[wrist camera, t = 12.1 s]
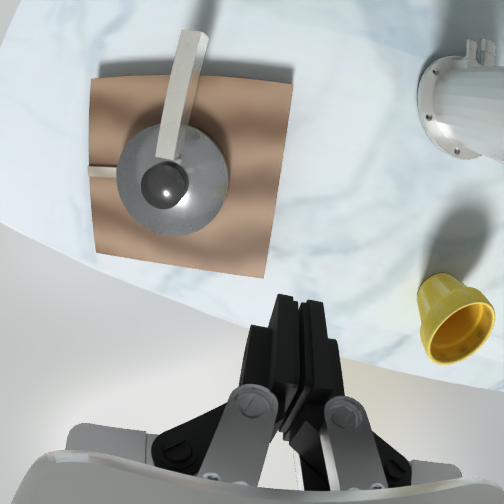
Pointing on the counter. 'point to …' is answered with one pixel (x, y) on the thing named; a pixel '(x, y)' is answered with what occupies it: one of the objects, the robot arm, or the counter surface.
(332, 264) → the counter surface
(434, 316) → the plant pot
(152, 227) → the dial
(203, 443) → the robot arm
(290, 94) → the dial board
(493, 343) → the counter surface
